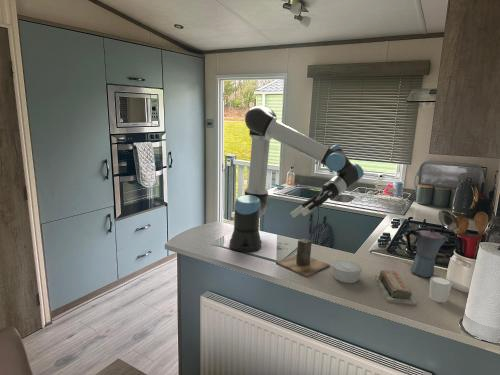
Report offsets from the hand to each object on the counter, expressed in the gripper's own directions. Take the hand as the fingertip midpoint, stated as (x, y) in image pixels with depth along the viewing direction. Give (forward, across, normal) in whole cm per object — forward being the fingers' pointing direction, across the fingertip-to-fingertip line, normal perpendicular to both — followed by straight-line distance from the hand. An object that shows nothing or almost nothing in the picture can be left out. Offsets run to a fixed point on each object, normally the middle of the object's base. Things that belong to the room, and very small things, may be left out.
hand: (296, 214), depth 149 cm
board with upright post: (+11, -1, -19) cm, 22 cm away
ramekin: (+2, -13, -30) cm, 33 cm away
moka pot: (-26, -12, -48) cm, 56 cm away
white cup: (-16, -30, -50) cm, 61 cm away
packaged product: (-7, -24, -41) cm, 48 cm away
